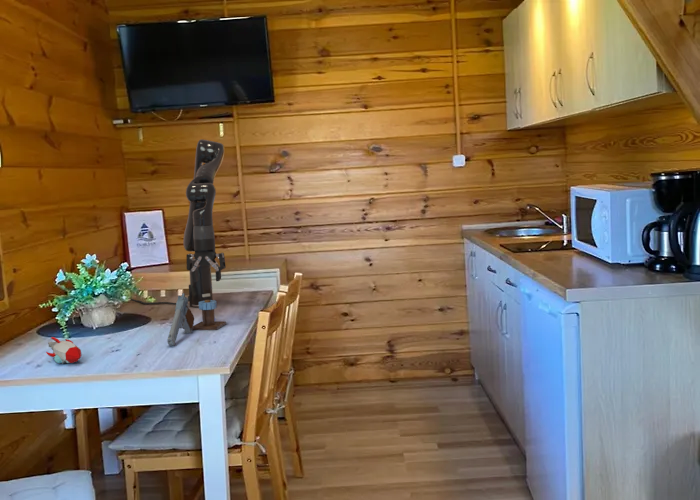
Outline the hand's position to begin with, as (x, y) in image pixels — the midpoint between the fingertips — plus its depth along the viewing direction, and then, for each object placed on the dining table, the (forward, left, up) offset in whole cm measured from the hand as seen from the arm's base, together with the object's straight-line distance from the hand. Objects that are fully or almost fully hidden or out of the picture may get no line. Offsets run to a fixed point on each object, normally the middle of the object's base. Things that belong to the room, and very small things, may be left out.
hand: (207, 281), depth 247 cm
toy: (-33, -42, -18) cm, 57 cm away
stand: (0, 0, -17) cm, 17 cm away
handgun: (-3, -18, -17) cm, 25 cm away
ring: (0, 0, -10) cm, 10 cm away
